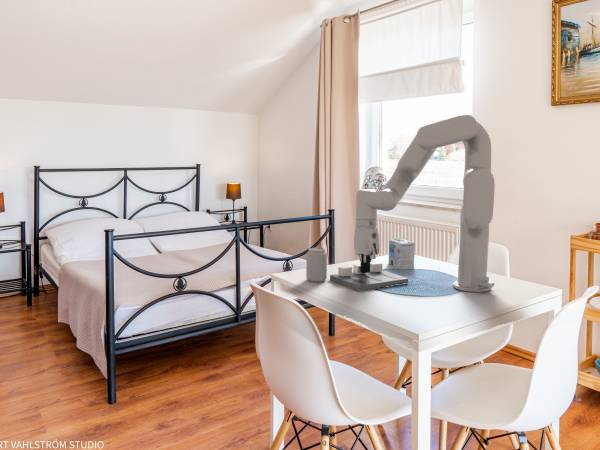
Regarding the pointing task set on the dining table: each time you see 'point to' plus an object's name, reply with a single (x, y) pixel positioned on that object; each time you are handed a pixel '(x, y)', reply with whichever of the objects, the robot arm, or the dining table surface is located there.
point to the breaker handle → (357, 269)
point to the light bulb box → (401, 253)
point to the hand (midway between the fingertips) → (365, 272)
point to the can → (316, 265)
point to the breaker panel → (367, 278)
